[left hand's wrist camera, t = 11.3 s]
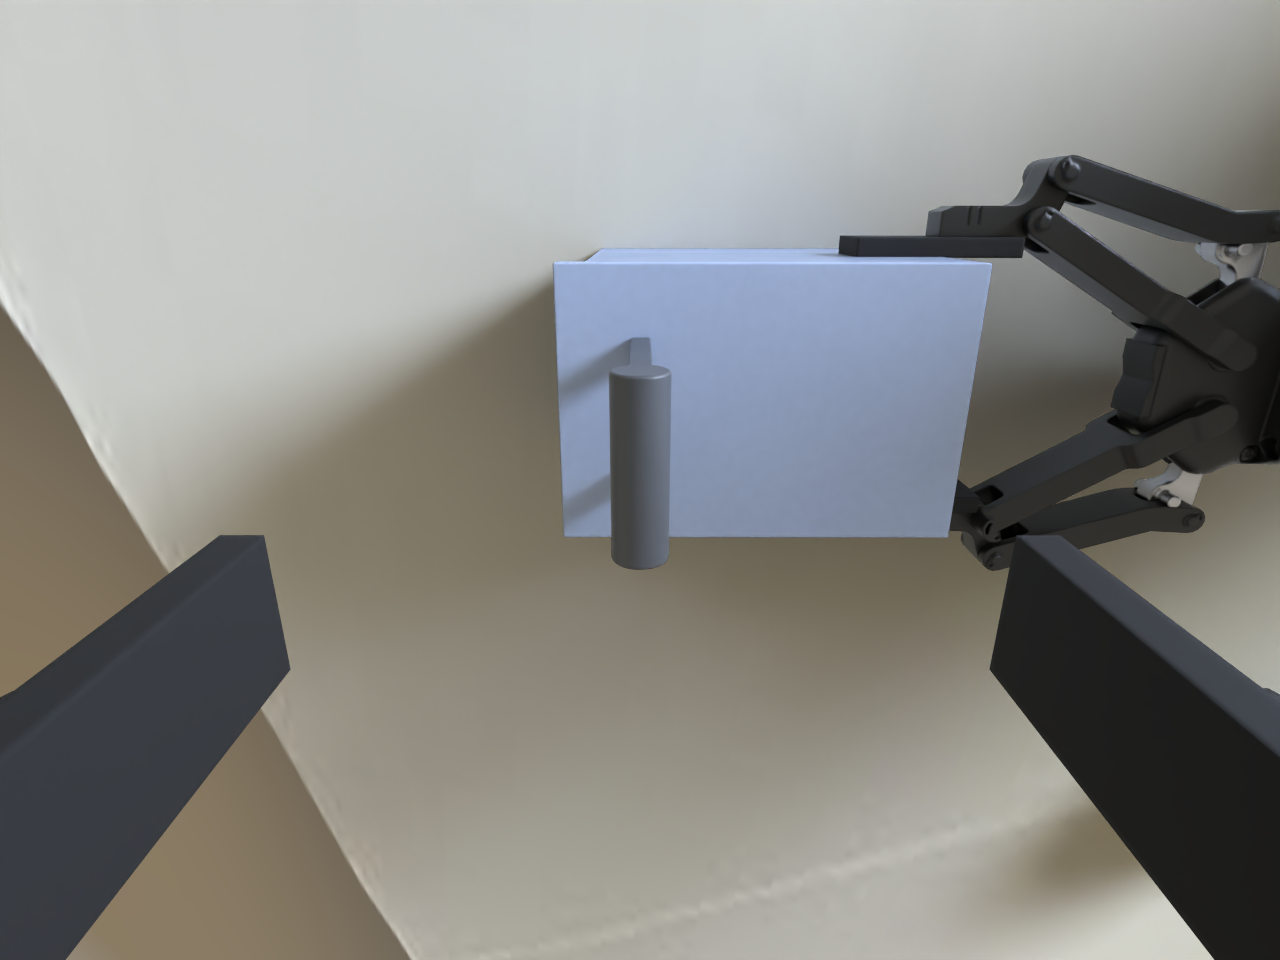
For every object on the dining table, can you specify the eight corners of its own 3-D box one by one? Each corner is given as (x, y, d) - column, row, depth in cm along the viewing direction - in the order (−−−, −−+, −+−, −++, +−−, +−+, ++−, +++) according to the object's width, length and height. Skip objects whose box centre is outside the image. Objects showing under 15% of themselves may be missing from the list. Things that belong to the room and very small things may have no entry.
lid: (566, 527, 29) (537, 642, 21) (555, 261, 25) (517, 280, 17) (938, 527, 28) (1049, 643, 21) (979, 261, 25) (1132, 281, 17)
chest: (604, 443, 39) (590, 526, 29) (601, 248, 36) (584, 261, 25) (857, 443, 39) (937, 527, 29) (878, 248, 36) (979, 261, 25)
